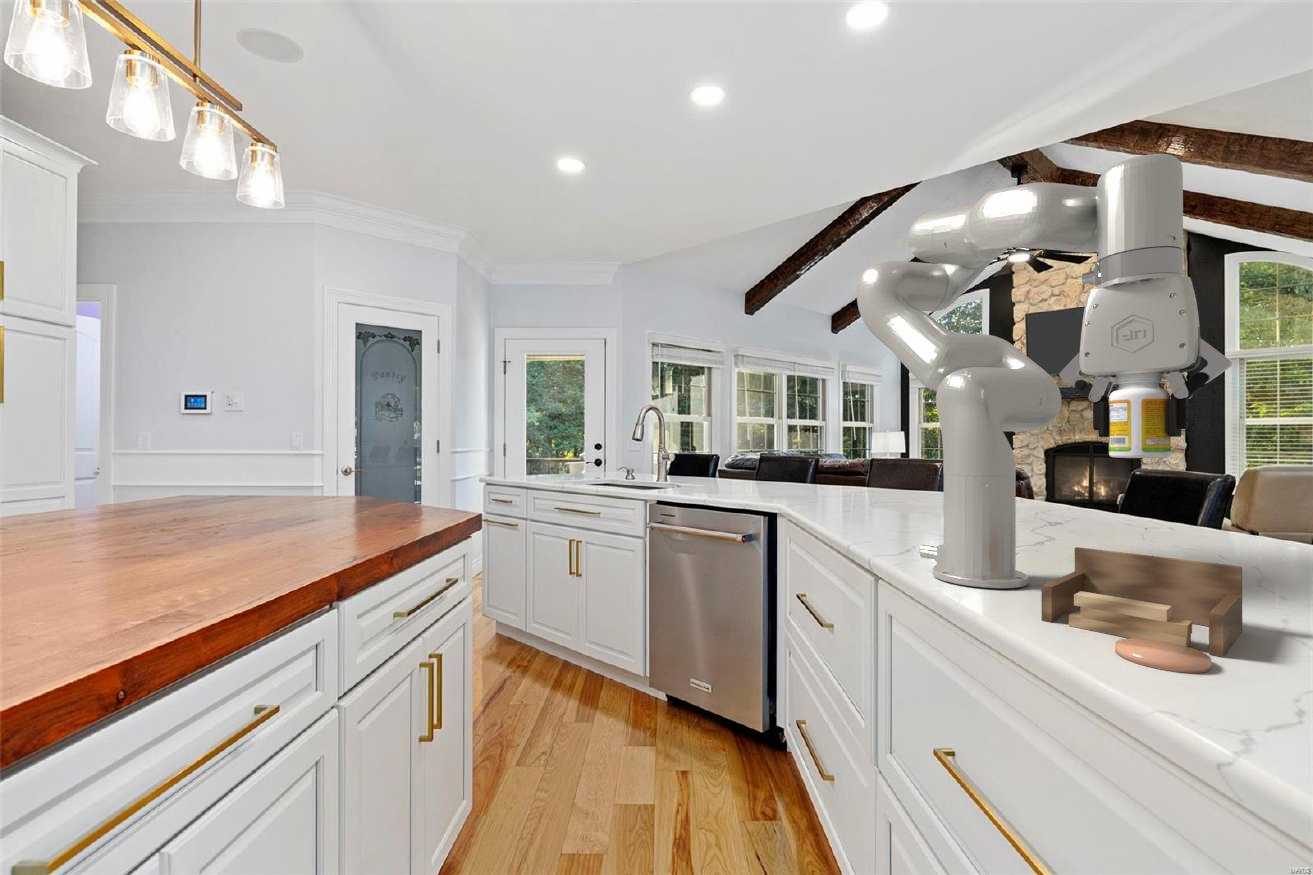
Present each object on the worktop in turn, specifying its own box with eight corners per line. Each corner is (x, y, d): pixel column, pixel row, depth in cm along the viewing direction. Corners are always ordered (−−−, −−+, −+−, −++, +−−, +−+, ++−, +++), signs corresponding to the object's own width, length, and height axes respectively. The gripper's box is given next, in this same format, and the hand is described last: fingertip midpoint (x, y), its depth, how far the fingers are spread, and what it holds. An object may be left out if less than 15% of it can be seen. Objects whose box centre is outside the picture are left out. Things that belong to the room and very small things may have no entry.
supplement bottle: (1172, 457, 67) (1172, 370, 67) (1168, 458, 63) (1168, 366, 63) (1112, 456, 71) (1112, 374, 71) (1105, 457, 67) (1104, 370, 67)
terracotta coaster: (1106, 657, 58) (1106, 648, 58) (1125, 641, 62) (1125, 633, 62) (1203, 679, 53) (1203, 670, 53) (1217, 660, 57) (1217, 652, 57)
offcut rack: (1041, 620, 70) (1041, 559, 70) (1077, 601, 78) (1077, 547, 78) (1223, 657, 58) (1222, 584, 58) (1242, 630, 66) (1242, 566, 66)
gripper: (1039, 283, 71) (1040, 437, 71) (1240, 248, 58) (1241, 436, 58) (1060, 293, 76) (1060, 437, 76) (1250, 263, 63) (1250, 436, 63)
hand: (1139, 435), depth 67 cm, fingers closed on supplement bottle, 5 cm apart
